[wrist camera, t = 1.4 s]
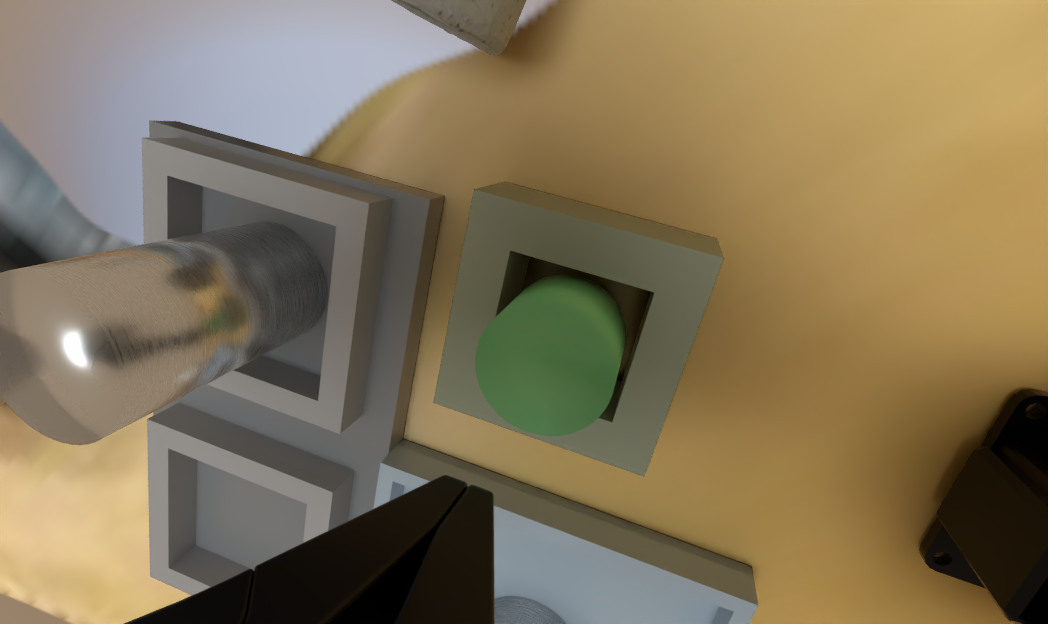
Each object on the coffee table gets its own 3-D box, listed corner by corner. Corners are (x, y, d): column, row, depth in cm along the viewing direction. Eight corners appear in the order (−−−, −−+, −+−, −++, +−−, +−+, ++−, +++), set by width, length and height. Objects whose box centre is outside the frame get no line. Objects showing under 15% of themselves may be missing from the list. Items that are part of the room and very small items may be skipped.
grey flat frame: (444, 196, 19) (409, 204, 17) (371, 616, 26) (339, 667, 24) (177, 121, 21) (109, 119, 18) (176, 532, 28) (126, 570, 25)
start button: (641, 294, 16) (633, 328, 13) (607, 403, 17) (593, 455, 14) (522, 259, 16) (490, 284, 14) (497, 366, 18) (463, 409, 15)
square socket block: (716, 238, 17) (724, 257, 14) (649, 428, 20) (644, 476, 17) (504, 182, 18) (473, 189, 16) (466, 367, 21) (433, 402, 18)
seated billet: (332, 240, 19) (119, 302, 12) (321, 352, 21) (124, 469, 13) (225, 207, 20) (-39, 247, 13) (221, 318, 22) (-16, 410, 14)
